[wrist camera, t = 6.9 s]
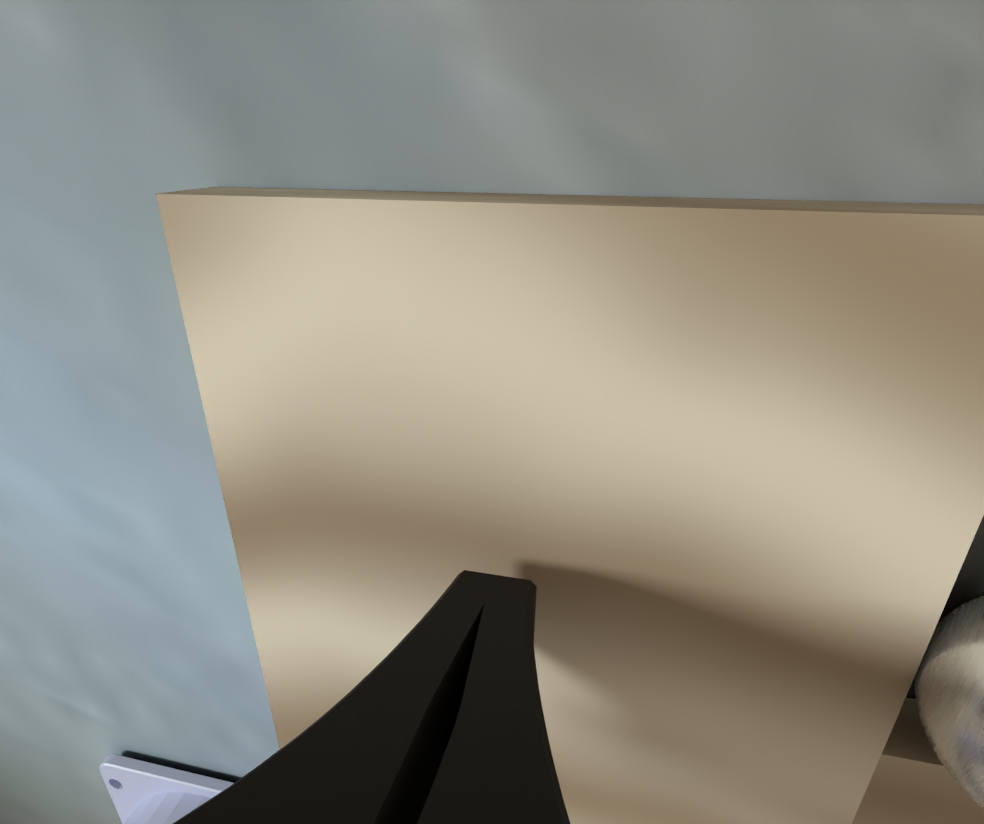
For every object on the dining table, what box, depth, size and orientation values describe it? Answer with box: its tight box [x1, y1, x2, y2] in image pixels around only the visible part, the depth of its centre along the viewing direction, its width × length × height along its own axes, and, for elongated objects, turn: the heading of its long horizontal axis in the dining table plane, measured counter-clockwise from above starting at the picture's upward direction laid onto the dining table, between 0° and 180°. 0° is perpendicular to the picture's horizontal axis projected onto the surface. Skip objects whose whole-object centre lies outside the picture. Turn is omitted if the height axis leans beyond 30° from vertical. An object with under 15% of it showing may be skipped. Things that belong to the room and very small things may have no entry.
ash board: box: [156, 187, 984, 824], centre depth 11 cm, size 14×22×2 cm, turn 90°
